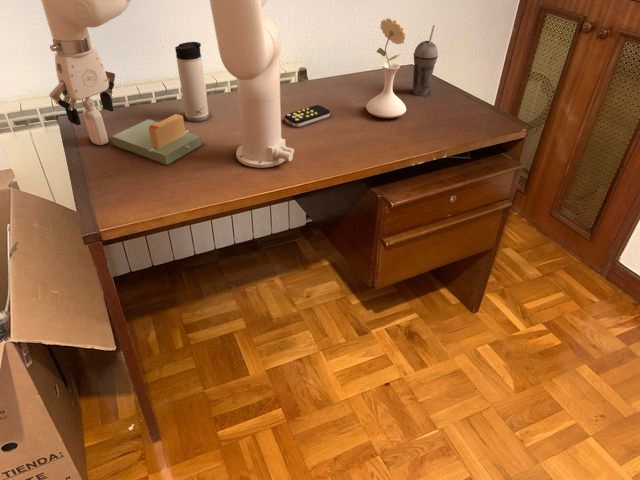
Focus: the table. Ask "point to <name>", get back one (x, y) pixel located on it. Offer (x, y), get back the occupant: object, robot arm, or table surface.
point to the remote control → (307, 116)
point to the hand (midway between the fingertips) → (92, 116)
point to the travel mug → (192, 81)
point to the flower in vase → (388, 77)
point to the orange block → (167, 131)
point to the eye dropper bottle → (94, 123)
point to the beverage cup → (424, 65)
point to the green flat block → (141, 143)
